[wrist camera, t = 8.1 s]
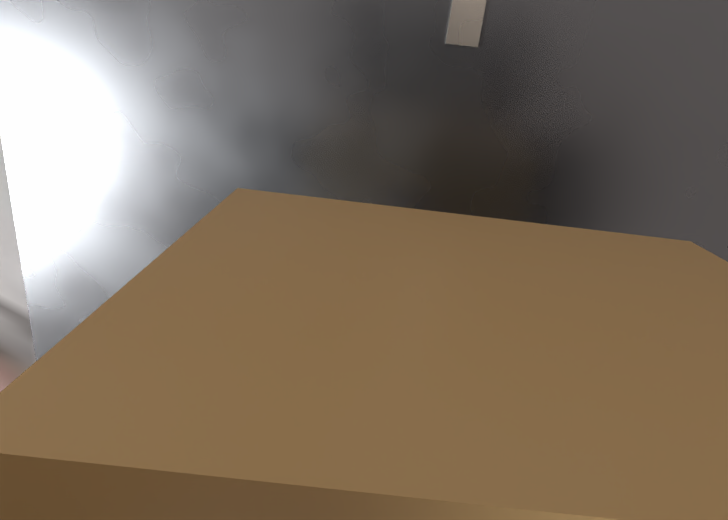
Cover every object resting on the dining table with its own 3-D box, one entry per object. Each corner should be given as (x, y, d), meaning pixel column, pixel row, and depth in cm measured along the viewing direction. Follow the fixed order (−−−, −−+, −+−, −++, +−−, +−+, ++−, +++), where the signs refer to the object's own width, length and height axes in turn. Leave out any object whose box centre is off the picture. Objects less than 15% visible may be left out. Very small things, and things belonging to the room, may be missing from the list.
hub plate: (653, 577, 16) (788, 826, 10) (84, 517, 15) (-64, 743, 10) (975, -101, 9) (1767, -324, 4) (-15, -227, 9) (-575, -645, 4)
